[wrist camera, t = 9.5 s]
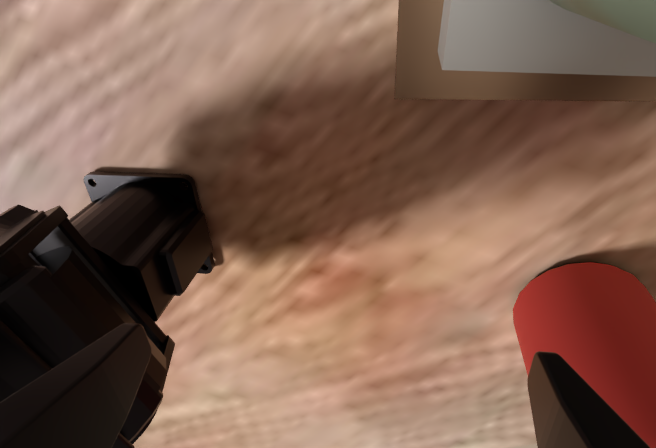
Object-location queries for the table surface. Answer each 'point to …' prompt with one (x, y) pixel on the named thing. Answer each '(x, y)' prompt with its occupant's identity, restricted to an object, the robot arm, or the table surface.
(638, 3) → the green cylinder
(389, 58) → the table surface
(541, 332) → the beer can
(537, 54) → the grey top slab
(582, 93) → the walnut base slab
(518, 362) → the table surface
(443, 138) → the table surface
